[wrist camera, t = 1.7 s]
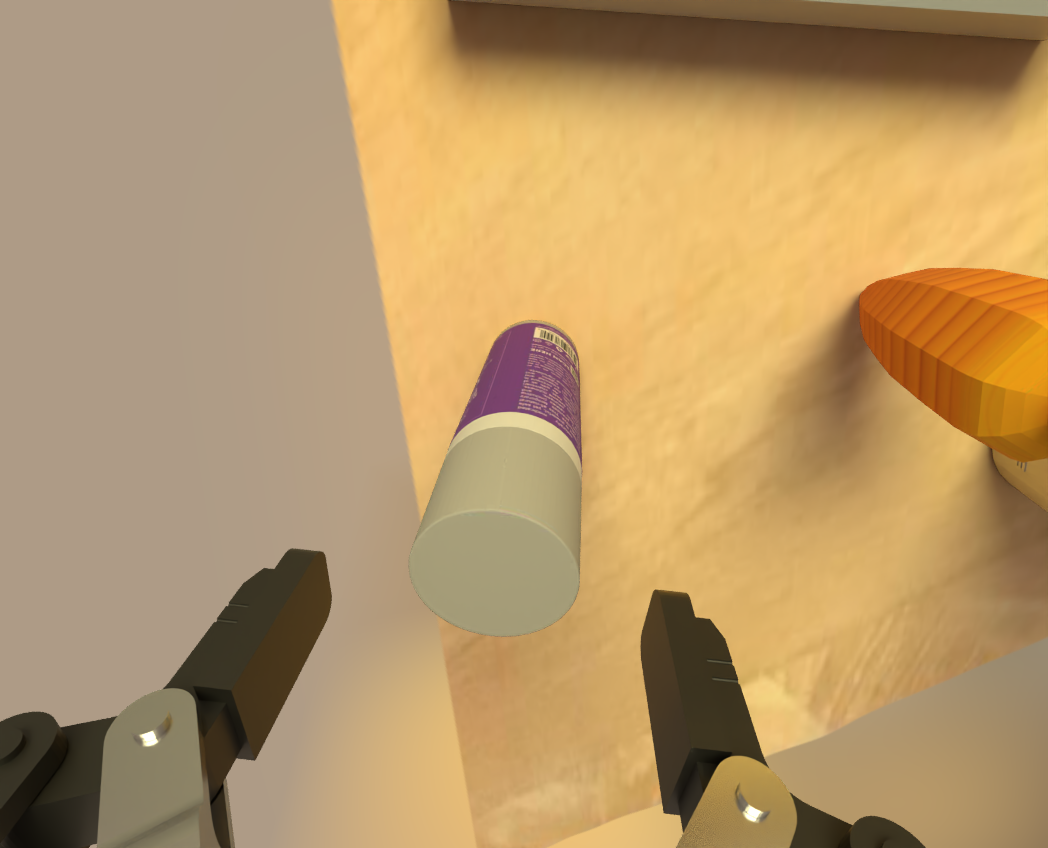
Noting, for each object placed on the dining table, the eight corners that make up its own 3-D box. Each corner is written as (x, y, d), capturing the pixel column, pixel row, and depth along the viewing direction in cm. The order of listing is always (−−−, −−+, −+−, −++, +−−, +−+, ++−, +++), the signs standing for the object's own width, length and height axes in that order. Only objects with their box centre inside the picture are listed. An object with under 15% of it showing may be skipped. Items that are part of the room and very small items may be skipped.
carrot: (794, 340, 24) (1057, 561, 11) (833, 231, 22) (1226, 349, 9) (899, 351, 24) (1294, 589, 11) (950, 242, 22) (1533, 379, 8)
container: (478, 330, 25) (375, 520, 12) (568, 310, 24) (562, 491, 11) (502, 411, 27) (437, 647, 14) (587, 395, 27) (600, 631, 13)
